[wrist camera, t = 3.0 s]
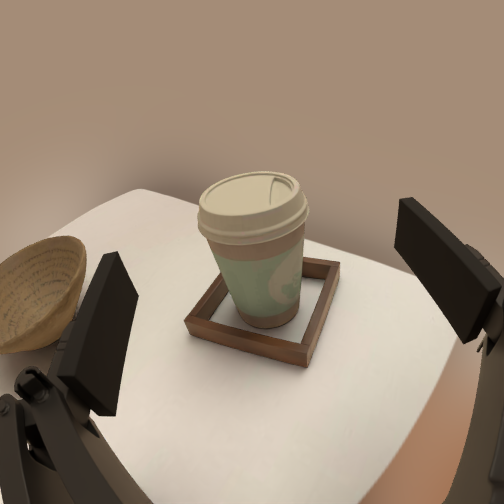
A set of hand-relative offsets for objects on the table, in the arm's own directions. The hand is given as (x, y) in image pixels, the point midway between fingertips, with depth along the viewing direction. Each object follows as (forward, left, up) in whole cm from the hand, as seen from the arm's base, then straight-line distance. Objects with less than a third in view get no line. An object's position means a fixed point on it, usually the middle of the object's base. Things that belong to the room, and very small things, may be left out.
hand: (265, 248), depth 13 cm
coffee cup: (+5, -8, -14) cm, 17 cm away
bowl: (+28, +4, -14) cm, 31 cm away
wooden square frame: (+5, -8, -13) cm, 17 cm away
